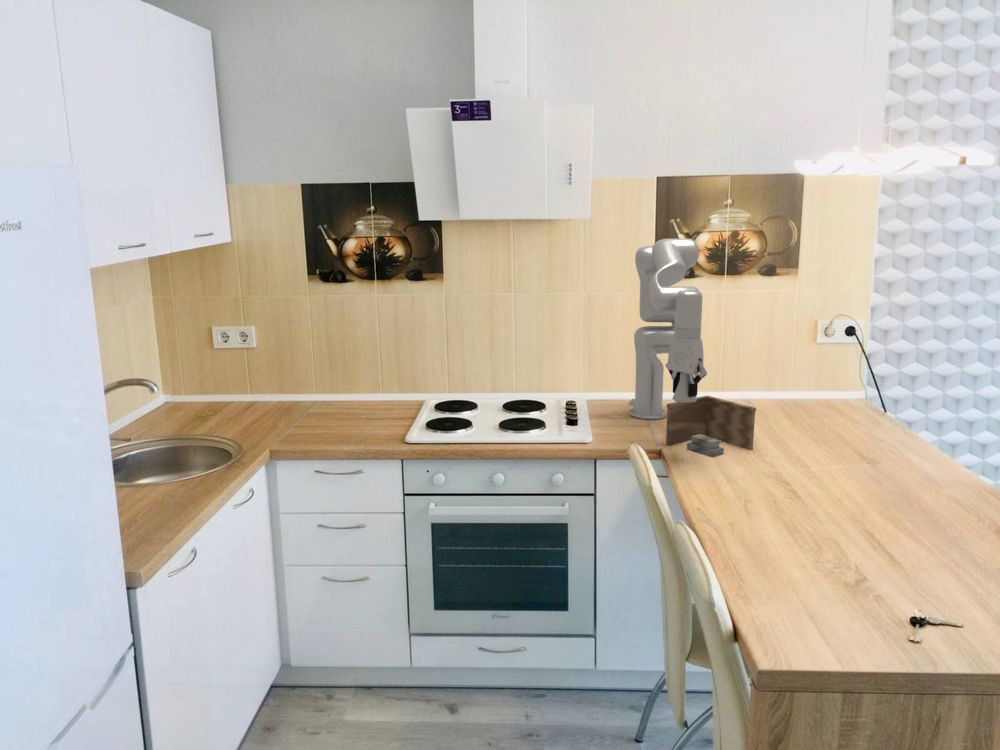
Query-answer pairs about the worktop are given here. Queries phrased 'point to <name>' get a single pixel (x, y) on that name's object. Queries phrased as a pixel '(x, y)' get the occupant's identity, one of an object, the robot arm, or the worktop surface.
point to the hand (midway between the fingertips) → (684, 393)
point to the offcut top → (705, 441)
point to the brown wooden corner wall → (711, 421)
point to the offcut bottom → (705, 450)
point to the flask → (683, 390)
